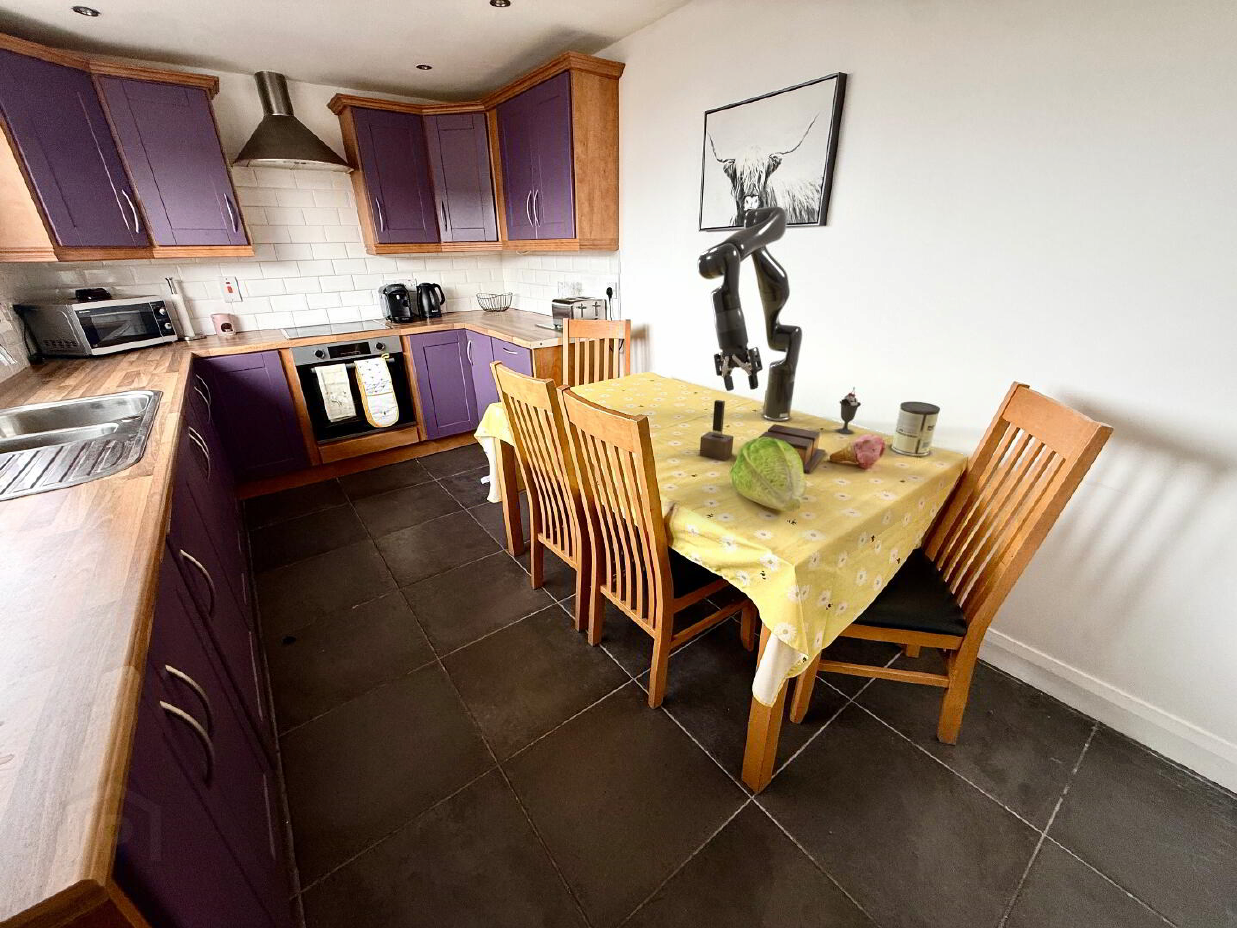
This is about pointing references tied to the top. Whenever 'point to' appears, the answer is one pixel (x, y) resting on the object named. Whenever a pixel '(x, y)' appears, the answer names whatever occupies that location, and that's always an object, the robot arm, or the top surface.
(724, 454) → the knife block
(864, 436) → the ice cream
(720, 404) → the knife
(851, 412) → the sundae
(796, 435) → the slotted wooden block
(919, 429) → the coffee can
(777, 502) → the lettuce
